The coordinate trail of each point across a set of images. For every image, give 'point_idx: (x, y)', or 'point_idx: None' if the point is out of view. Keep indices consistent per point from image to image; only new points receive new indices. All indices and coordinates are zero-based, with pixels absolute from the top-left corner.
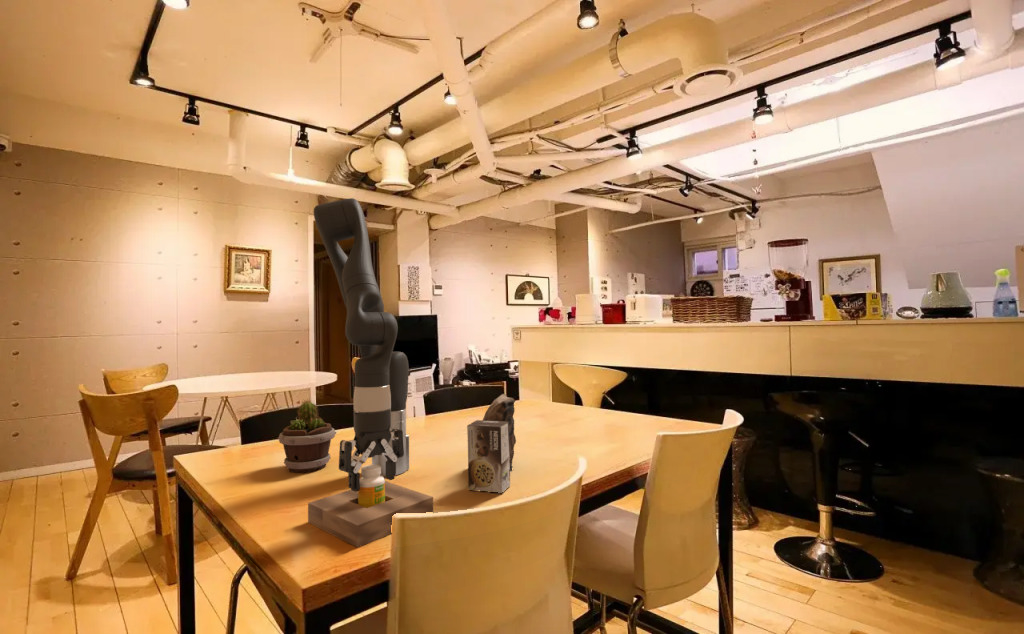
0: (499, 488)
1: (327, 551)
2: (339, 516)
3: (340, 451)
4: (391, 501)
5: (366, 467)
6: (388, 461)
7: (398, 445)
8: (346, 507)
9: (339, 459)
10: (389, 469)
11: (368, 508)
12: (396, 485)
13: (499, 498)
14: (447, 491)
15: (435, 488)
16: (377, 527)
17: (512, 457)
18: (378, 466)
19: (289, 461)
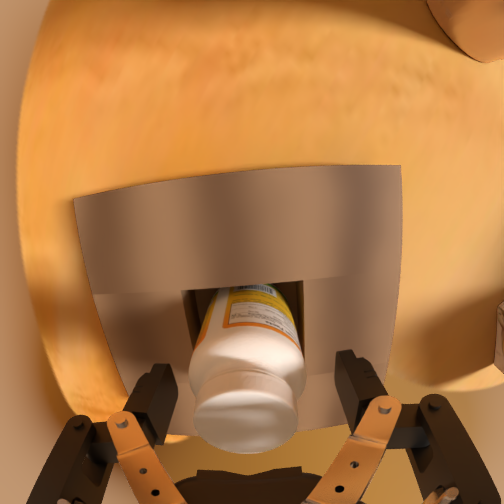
0: (499, 366)
1: (108, 372)
2: (121, 373)
3: (42, 485)
4: None
5: (224, 416)
6: (361, 415)
7: (419, 484)
8: (153, 336)
9: (53, 453)
10: (346, 399)
11: None
12: (396, 271)
13: (477, 377)
14: (483, 277)
15: (485, 235)
16: None
17: None
18: (280, 436)
19: None
